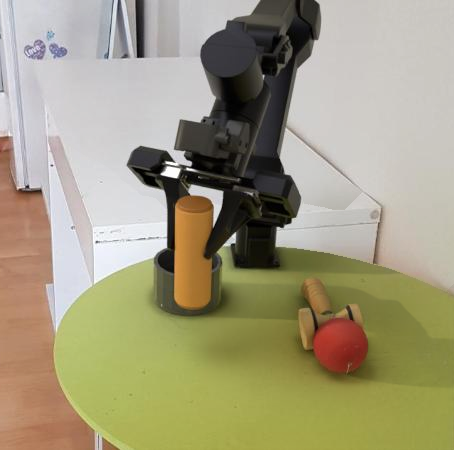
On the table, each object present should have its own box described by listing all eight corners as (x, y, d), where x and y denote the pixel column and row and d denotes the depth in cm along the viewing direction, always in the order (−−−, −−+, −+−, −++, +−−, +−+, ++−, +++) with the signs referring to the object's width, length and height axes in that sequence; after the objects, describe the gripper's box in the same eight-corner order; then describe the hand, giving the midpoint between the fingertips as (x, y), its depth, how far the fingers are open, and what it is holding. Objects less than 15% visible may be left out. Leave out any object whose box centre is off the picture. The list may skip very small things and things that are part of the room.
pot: (153, 281, 100) (153, 244, 98) (218, 280, 101) (219, 244, 99) (153, 316, 93) (153, 277, 90) (223, 315, 93) (224, 277, 91)
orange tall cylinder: (177, 289, 85) (178, 192, 80) (212, 293, 85) (216, 196, 79) (171, 308, 81) (172, 208, 76) (207, 312, 81) (211, 212, 76)
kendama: (275, 308, 97) (304, 377, 80) (286, 263, 96) (319, 324, 79) (332, 317, 99) (373, 387, 81) (344, 272, 97) (388, 334, 80)
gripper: (133, 73, 79) (79, 207, 75) (301, 99, 72) (252, 248, 68) (168, 123, 89) (122, 244, 85) (319, 151, 82) (276, 283, 78)
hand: (187, 253), depth 79 cm, fingers closed on orange tall cylinder, 4 cm apart
